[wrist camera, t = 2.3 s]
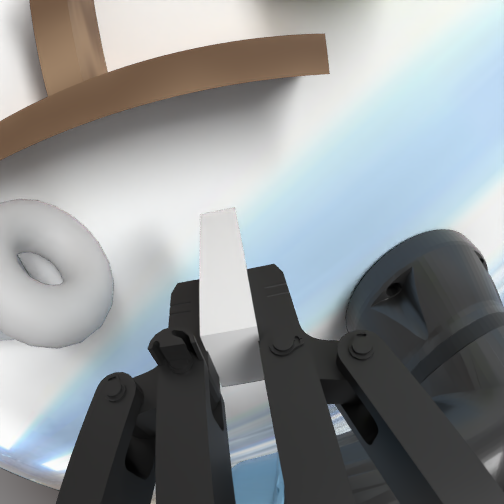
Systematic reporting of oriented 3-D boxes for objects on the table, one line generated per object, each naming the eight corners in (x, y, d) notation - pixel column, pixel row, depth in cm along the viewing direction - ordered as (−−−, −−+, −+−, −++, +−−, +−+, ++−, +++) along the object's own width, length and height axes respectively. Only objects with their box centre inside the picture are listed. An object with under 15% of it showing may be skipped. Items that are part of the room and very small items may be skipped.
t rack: (305, 69, 16) (335, 75, 12) (-15, 162, 16) (-54, 192, 12) (273, -104, 9) (292, -139, 5) (-47, 15, 8) (-90, 19, 4)
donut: (136, 245, 21) (105, 364, 13) (113, 275, 22) (82, 390, 14) (23, 166, 16) (-67, 252, 8) (8, 204, 18) (-68, 295, 10)
